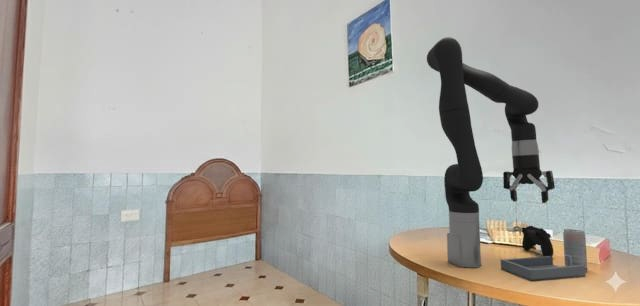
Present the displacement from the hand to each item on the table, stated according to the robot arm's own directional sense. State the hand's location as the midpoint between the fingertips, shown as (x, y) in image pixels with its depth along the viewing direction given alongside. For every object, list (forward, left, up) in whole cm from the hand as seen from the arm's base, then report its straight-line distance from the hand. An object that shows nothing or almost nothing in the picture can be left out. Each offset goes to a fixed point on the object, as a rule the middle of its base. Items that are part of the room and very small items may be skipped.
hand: (529, 202), depth 104 cm
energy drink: (+7, -9, -21) cm, 23 cm away
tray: (-6, -9, -20) cm, 23 cm away
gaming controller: (+12, +9, -21) cm, 26 cm away
